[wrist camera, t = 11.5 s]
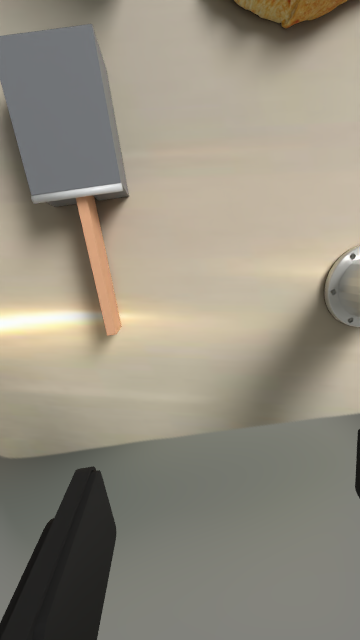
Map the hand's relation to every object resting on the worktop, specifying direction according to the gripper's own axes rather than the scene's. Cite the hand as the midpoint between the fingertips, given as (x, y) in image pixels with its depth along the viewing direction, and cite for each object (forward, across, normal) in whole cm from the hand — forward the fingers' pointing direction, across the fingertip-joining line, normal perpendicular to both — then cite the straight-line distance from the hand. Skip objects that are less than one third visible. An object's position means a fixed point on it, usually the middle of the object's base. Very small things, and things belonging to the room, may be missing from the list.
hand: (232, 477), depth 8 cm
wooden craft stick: (+28, +10, -9) cm, 31 cm away
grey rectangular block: (+28, +10, -24) cm, 38 cm away
